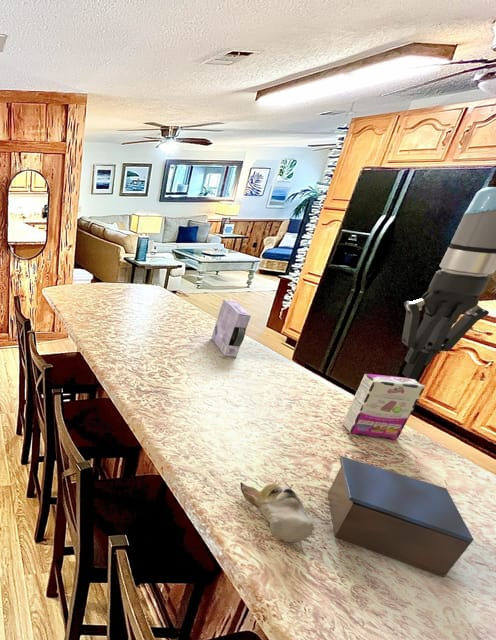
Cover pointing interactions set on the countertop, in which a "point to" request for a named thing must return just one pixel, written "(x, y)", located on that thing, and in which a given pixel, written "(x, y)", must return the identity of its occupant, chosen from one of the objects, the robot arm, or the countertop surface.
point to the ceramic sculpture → (280, 511)
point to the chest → (392, 534)
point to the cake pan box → (230, 328)
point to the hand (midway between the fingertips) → (409, 376)
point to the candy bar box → (382, 406)
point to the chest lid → (403, 498)
